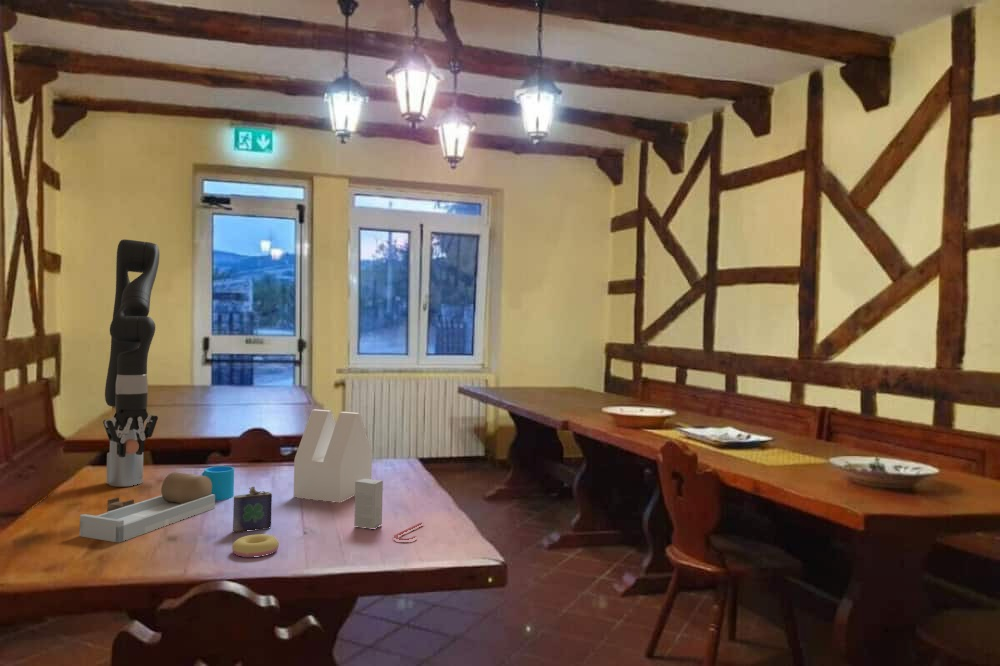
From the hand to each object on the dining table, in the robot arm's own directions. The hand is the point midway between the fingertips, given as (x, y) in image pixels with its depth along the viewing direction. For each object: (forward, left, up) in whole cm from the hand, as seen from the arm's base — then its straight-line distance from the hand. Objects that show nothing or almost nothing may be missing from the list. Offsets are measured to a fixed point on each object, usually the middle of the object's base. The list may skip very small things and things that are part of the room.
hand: (130, 455), depth 187 cm
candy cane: (+76, +15, -16) cm, 79 cm away
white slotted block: (+37, +41, -16) cm, 58 cm away
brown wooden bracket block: (-2, -1, -15) cm, 16 cm away
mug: (+8, +23, -16) cm, 29 cm away
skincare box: (+63, +15, -16) cm, 67 cm away
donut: (+49, -12, -16) cm, 53 cm away
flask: (+38, +1, -16) cm, 41 cm away
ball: (0, 0, +2) cm, 2 cm away
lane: (+11, -3, -15) cm, 19 cm away
